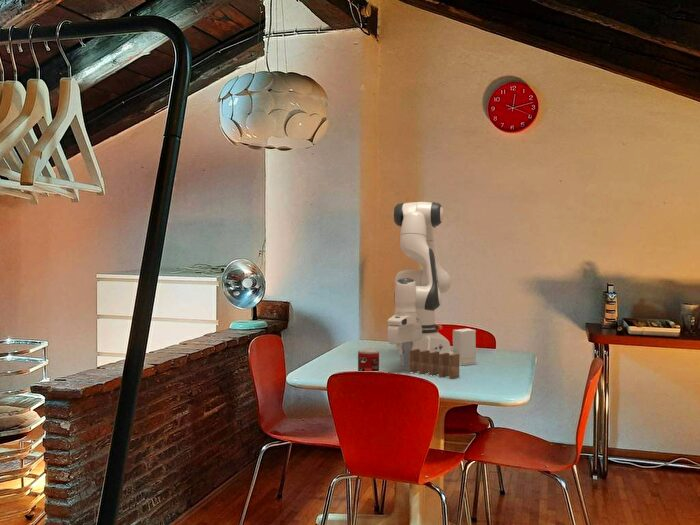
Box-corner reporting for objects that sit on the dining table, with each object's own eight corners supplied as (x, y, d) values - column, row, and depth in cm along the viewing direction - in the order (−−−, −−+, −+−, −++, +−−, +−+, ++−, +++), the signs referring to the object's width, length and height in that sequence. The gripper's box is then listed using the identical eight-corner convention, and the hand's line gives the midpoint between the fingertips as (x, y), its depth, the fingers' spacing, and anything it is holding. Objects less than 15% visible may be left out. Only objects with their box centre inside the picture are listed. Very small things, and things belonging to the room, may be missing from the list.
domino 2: (409, 373, 285) (409, 350, 284) (416, 371, 288) (416, 348, 288) (413, 373, 284) (413, 350, 283) (419, 371, 288) (419, 349, 287)
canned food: (357, 377, 276) (357, 348, 276) (377, 376, 277) (377, 348, 276) (359, 381, 268) (359, 352, 268) (380, 380, 269) (380, 351, 269)
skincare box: (468, 362, 308) (468, 328, 308) (476, 364, 303) (476, 329, 302) (451, 363, 305) (452, 329, 304) (460, 366, 299) (460, 330, 299)
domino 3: (419, 374, 282) (419, 351, 281) (426, 372, 286) (426, 350, 285) (422, 374, 281) (422, 352, 280) (429, 372, 285) (429, 350, 284)
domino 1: (400, 365, 287) (400, 342, 287) (407, 363, 291) (407, 341, 291) (403, 365, 286) (403, 343, 286) (410, 364, 290) (410, 341, 290)
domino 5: (439, 377, 276) (439, 354, 276) (445, 375, 280) (445, 352, 280) (442, 377, 275) (442, 354, 275) (449, 375, 279) (449, 352, 279)
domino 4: (429, 375, 279) (429, 352, 279) (435, 373, 283) (435, 351, 283) (432, 376, 278) (432, 353, 278) (439, 374, 282) (439, 351, 282)
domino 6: (449, 378, 273) (449, 355, 273) (455, 376, 277) (455, 353, 277) (452, 379, 272) (452, 355, 272) (459, 377, 276) (459, 353, 276)
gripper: (413, 316, 298) (412, 349, 298) (384, 320, 282) (384, 355, 282) (426, 317, 294) (425, 350, 295) (398, 321, 278) (397, 357, 278)
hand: (405, 353), depth 288 cm, fingers closed on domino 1, 5 cm apart
